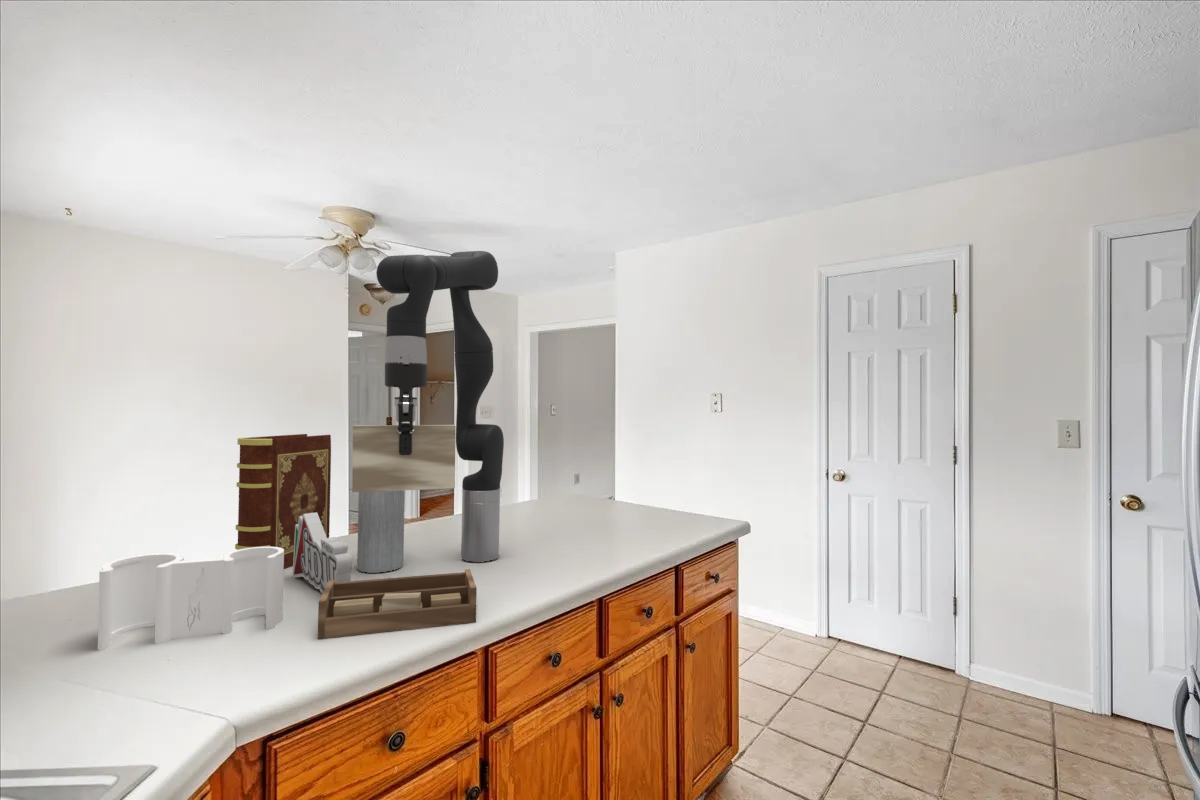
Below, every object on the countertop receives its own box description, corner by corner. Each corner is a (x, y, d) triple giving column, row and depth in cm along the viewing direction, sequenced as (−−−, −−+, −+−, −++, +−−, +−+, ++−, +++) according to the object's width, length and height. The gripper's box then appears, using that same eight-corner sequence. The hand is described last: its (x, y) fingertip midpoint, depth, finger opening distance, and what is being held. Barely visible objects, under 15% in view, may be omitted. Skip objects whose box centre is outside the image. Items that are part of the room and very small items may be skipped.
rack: (328, 613, 101) (328, 580, 101) (469, 600, 109) (469, 569, 109) (317, 639, 90) (318, 601, 90) (475, 622, 98) (476, 587, 98)
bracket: (286, 610, 102) (288, 544, 103) (278, 630, 93) (279, 557, 94) (116, 628, 93) (118, 555, 93) (88, 652, 84) (90, 571, 84)
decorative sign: (349, 611, 108) (354, 535, 107) (334, 615, 106) (339, 537, 105) (305, 574, 124) (309, 507, 123) (292, 576, 122) (296, 509, 121)
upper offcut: (385, 605, 98) (385, 593, 98) (420, 603, 99) (420, 592, 99) (381, 610, 95) (382, 598, 95) (418, 609, 96) (418, 597, 96)
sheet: (353, 490, 103) (354, 425, 103) (453, 486, 109) (454, 424, 109) (352, 492, 101) (352, 426, 101) (454, 488, 107) (455, 425, 107)
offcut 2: (430, 617, 100) (430, 595, 100) (459, 614, 101) (459, 592, 101) (430, 623, 97) (431, 600, 97) (460, 620, 99) (460, 597, 99)
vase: (408, 569, 128) (410, 451, 128) (362, 576, 123) (364, 453, 123) (397, 559, 136) (399, 448, 137) (353, 565, 131) (355, 450, 131)
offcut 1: (335, 627, 95) (335, 601, 95) (373, 623, 97) (373, 597, 97) (333, 634, 92) (333, 606, 92) (372, 629, 94) (372, 603, 94)
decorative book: (259, 578, 120) (262, 439, 120) (228, 575, 122) (231, 438, 122) (329, 552, 142) (332, 434, 142) (302, 550, 144) (305, 433, 144)
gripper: (386, 363, 110) (385, 451, 110) (383, 359, 97) (382, 458, 97) (425, 364, 112) (425, 450, 113) (428, 360, 99) (427, 457, 99)
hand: (405, 453), depth 105 cm, fingers closed on sheet, 2 cm apart
